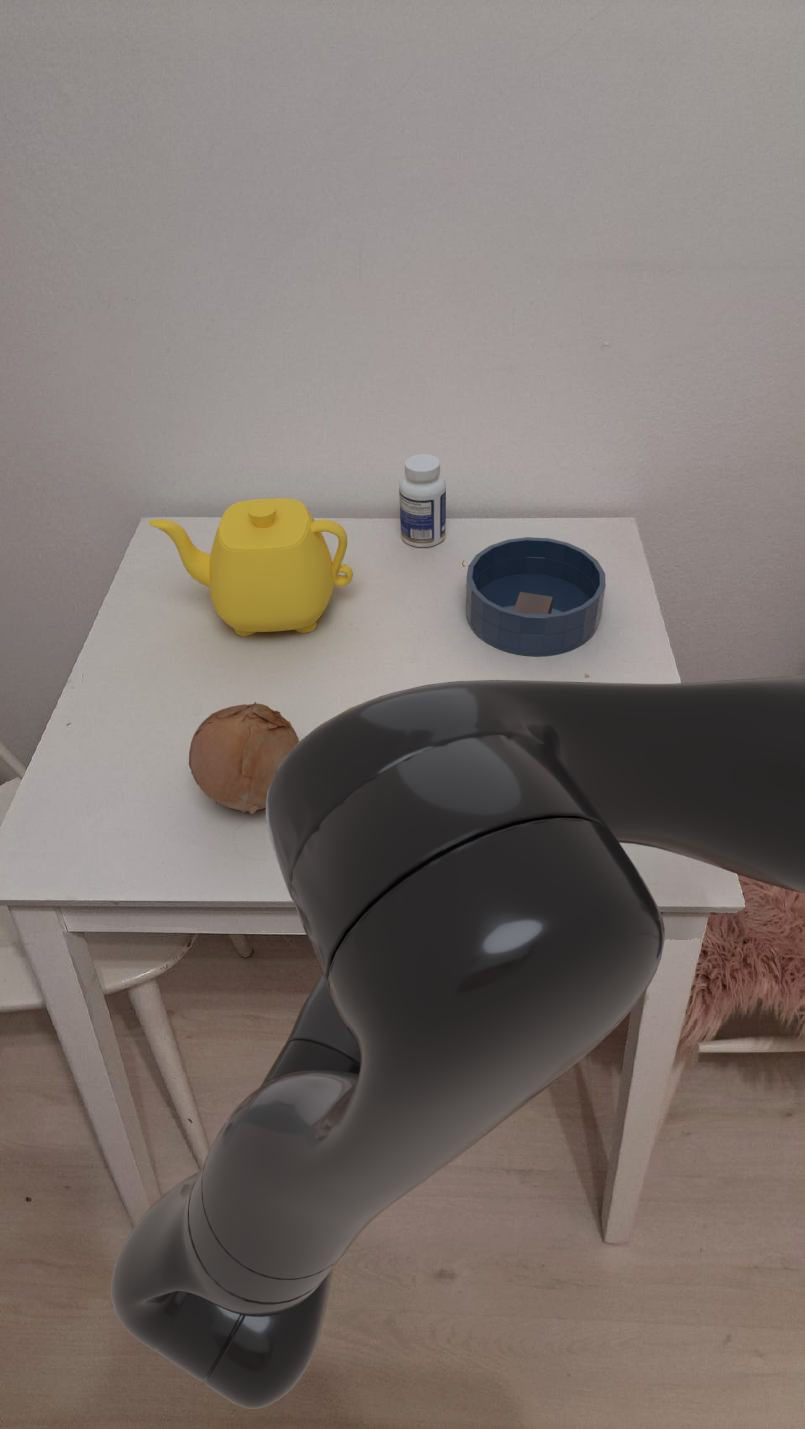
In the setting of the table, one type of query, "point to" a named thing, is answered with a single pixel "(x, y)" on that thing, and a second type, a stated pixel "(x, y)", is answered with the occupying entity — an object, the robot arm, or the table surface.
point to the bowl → (536, 572)
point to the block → (533, 604)
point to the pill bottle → (422, 502)
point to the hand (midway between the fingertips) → (474, 820)
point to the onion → (240, 754)
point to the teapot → (266, 565)
